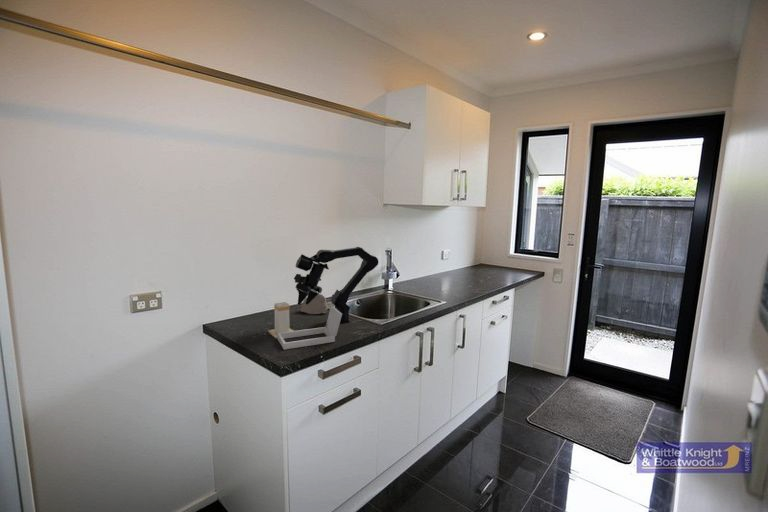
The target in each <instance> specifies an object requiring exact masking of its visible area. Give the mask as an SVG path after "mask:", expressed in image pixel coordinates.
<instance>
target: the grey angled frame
mask: <svg viewBox="0 0 768 512" xmlns="http://www.w3.org/2000/svg"><path fill="white" fill-rule="evenodd" d="M341 317H342V313H340V312H339V311H338V310H337V308H336V307H335V306H332V305H331V306H330V309H329V313H328V317H327V320H326V324H325V326H323V327H322V326H321V327H316V328H315V327H314V328H307V329H300V330H294V331H290V332H283V333H277V338H276V339H277V341H278V342H279V344H280V345H281V347H282V349H283V350H289V349H296V348H303V347H309V346H315V345H322V344H329V343H334V342H336V336H337V335H338V330H339V329H340V328H339V327H340V325H341V323H340V320H341ZM319 334H325V336H320V337H316V338H307V339H301V340H295V341H288V342H287V341H286V339H290V338H291V339H292V338H297V337H298V338H299V337H304V336H306V337H307V336H311V335H312V336H313V335H319Z"/></svg>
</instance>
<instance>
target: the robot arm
mask: <svg viewBox="0 0 768 512" xmlns="http://www.w3.org/2000/svg"><path fill="white" fill-rule="evenodd" d="M356 256H357V257H359V258H360V259H361V260H362V261H361V264H360V267H359V269H358V270H356V272H355V273H354V275H353V276H352V277H351V278H350V279H349V281H348V282H347V283H346V284H345V286H344V287H343V288H342V289H340V290H338V289H336V290H335V292H334V293H333V294H332V295H331V296H332V297H331V298H330V300H331V301H330V302H331V304H332V305H333V307H334V308H335V309H337V310H338V311H339V312H340V313H342V317H341V320H340V324H346V323H350V322H351V320H350V319H349V317H350V316H349V314H350V309H351V307H350V306H349V305H348V304H347V303H348V301H349V298H350V296H351V294H352V292H353V291H354V290H355V289H356V288H357V287H358V285H359V283H360V282H362V280H363V279H364V277H365V276H366V275H367V274H368V273H369V272H371V271H373V270H374V269H376V267H377V266H378V265H379V258H378V257H376V256H375V255H372V254H370V253H368V252H367V251H366V250H365V249H364V248H363V247H360V246H356V247H350V248H344V249H343V248H342V249H335V250H333V249H331V250H330V249H319V250H318V251H317V252H316V253H315V254H314V255H313V256H311V257H309V256H306V255H305V254H302V253H301V254H300V256H299V257H298V259H297V260H296V263H295V268H297V269H300V270H303V271H304V272H308V271H309V273H307V274H306V275H305V276H303V275H302V274H300V273H297V274H295V275H294V277H293V279H294V283H296V285H295V288H296V291H297V293H298V295H297V296H298V299H297V305H299V306H301V305H302V304H303V302H304V300H305V298H307V300H306V304H307V305H308V304H309V303H310V302H311V301H312V300H313V299H314V298H315V297H316V296H317V295H319V294H321V293H322V291H323V287H321V286H319V282H321V281H322V278H321V277H322V276H323V272H324V270H325V269H326V270H329V269H330V268H329V265H328V263H330V262H332V261H335V260H336V259H343V258H348V257H350V258H351V257H356Z"/></svg>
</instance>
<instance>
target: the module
mask: <svg viewBox="0 0 768 512" xmlns="http://www.w3.org/2000/svg"><path fill="white" fill-rule="evenodd" d="M273 305H274V307H273V308H274V329H275V331H276V332H277V333H283V332H290V328H291V326H290V309H291V308H290V307H291V306H290V304H289V303H287V302H286V301H283V302H277V303H274V304H273Z"/></svg>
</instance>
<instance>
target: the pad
mask: <svg viewBox="0 0 768 512" xmlns="http://www.w3.org/2000/svg"><path fill="white" fill-rule="evenodd" d="M290 331H295V330H294V329H292V328H291V327H290ZM267 332H268V333H269V334H270V335H271V336H272V337H274V339H277V332H276V331H275V328H273V329H268V330H267Z"/></svg>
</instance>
